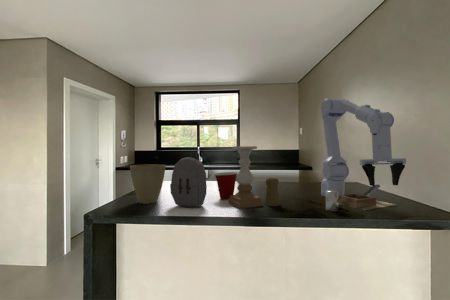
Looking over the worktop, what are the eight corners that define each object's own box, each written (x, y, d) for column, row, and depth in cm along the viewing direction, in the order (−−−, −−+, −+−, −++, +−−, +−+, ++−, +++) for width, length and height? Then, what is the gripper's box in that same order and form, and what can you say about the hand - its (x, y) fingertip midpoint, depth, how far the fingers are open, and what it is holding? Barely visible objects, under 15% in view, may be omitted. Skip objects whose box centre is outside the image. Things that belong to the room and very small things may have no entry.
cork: (279, 206, 104) (279, 178, 103) (264, 205, 105) (264, 178, 105) (279, 203, 110) (279, 176, 109) (265, 202, 111) (265, 176, 111)
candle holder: (239, 209, 100) (238, 146, 100) (227, 203, 110) (226, 146, 110) (263, 206, 105) (263, 146, 104) (250, 200, 115) (249, 146, 114)
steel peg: (323, 209, 99) (323, 190, 99) (331, 207, 101) (331, 189, 101) (332, 211, 95) (332, 192, 95) (341, 210, 97) (341, 191, 97)
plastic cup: (223, 195, 127) (223, 170, 127) (242, 197, 121) (242, 171, 120) (209, 199, 118) (209, 172, 118) (229, 202, 112) (228, 174, 112)
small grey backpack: (209, 205, 106) (209, 156, 106) (201, 210, 98) (201, 157, 98) (176, 203, 111) (175, 156, 110) (166, 208, 103) (165, 157, 102)
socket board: (333, 205, 105) (333, 194, 105) (363, 200, 113) (363, 190, 113) (364, 213, 93) (364, 201, 92) (396, 207, 100) (396, 196, 100)
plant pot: (153, 207, 104) (152, 167, 104) (122, 204, 109) (122, 166, 109) (172, 199, 118) (172, 164, 118) (144, 197, 123) (144, 163, 123)
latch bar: (360, 200, 108) (359, 198, 109) (365, 199, 110) (364, 197, 110) (375, 187, 102) (373, 184, 103) (380, 186, 104) (378, 184, 104)
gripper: (364, 146, 88) (366, 186, 88) (410, 145, 87) (413, 186, 86) (356, 147, 95) (358, 184, 95) (398, 146, 94) (400, 184, 93)
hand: (383, 185), depth 91 cm, fingers open, 7 cm apart
